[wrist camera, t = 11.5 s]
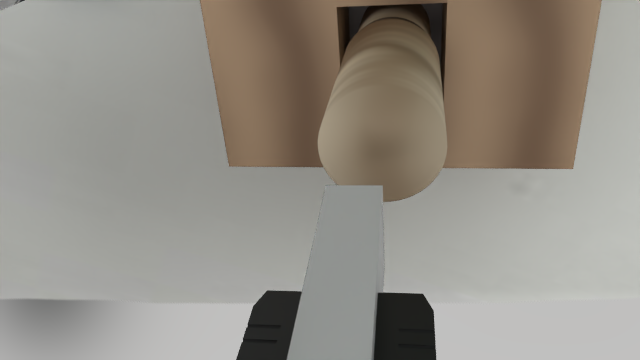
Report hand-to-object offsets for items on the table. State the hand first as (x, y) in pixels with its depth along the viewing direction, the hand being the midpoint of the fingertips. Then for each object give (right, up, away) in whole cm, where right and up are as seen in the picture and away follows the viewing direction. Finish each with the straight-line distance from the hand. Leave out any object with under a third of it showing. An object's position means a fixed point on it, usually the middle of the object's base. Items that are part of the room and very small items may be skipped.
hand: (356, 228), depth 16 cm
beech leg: (+3, +10, +16) cm, 19 cm away
